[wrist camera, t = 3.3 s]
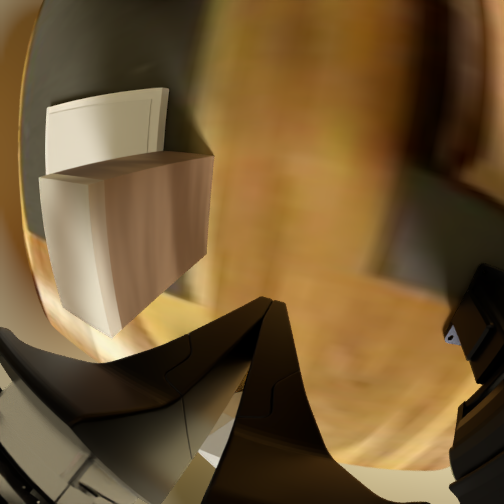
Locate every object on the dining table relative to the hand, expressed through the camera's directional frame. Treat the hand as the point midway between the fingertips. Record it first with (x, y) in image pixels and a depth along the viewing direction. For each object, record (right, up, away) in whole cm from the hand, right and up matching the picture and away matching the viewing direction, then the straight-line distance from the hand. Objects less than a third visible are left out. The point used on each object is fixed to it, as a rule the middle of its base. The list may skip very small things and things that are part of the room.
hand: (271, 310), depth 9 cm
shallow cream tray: (-15, +8, +12) cm, 20 cm away
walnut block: (-5, +5, +9) cm, 12 cm away
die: (-1, -14, +17) cm, 22 cm away
